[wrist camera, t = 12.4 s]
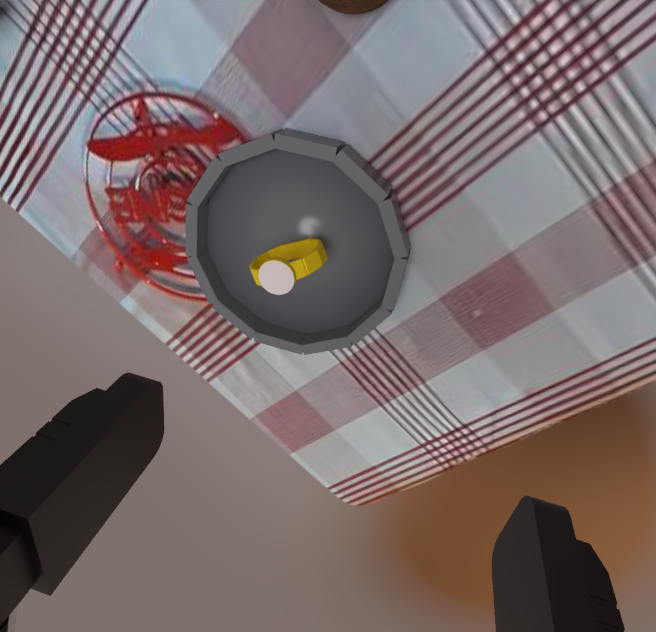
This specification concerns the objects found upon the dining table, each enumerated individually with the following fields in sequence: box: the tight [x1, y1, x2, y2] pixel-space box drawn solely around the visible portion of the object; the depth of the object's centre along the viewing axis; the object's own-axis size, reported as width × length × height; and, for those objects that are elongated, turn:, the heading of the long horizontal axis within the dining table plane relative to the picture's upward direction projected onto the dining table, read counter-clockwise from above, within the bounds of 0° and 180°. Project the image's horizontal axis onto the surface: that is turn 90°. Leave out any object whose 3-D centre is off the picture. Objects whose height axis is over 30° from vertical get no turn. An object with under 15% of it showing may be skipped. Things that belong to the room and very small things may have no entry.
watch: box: [249, 238, 327, 295], centre depth 36 cm, size 6×3×6 cm, turn 108°
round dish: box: [186, 128, 411, 355], centre depth 38 cm, size 18×18×2 cm
